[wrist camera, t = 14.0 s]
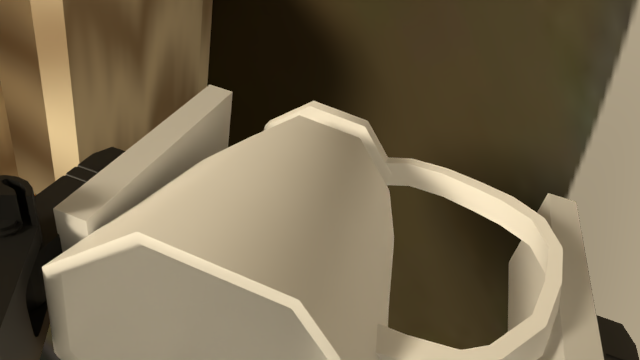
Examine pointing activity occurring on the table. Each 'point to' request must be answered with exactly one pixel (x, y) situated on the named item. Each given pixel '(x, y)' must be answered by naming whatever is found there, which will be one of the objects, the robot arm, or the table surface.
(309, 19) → the table surface
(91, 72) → the box
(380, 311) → the cup
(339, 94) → the table surface
